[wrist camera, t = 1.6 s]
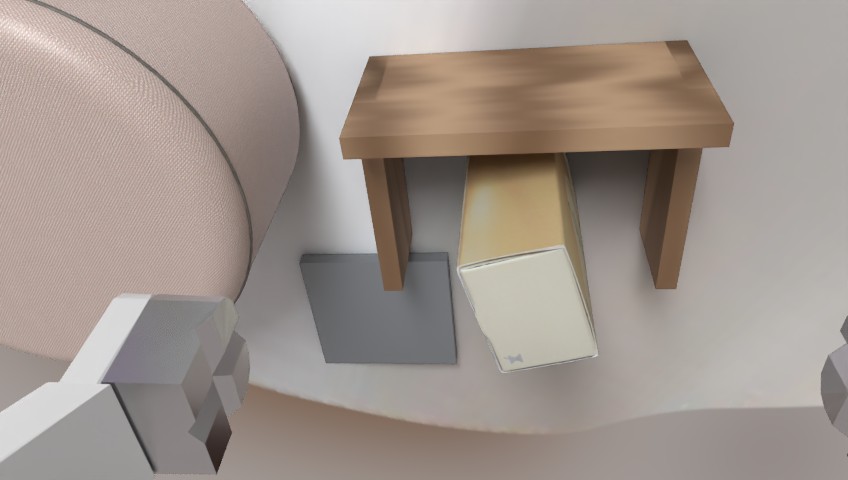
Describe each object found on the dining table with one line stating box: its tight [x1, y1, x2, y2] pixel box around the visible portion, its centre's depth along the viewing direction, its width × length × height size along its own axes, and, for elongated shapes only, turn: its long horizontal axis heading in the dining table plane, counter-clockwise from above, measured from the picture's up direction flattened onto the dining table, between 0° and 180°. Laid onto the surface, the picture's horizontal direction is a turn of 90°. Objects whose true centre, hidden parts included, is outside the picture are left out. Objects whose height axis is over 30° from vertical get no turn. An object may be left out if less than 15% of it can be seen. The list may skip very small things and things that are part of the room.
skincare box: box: [456, 152, 598, 373], centre depth 31 cm, size 6×4×12 cm
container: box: [0, 0, 300, 362], centre depth 31 cm, size 18×18×12 cm
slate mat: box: [299, 253, 457, 364], centre depth 43 cm, size 9×9×1 cm
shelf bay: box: [339, 40, 734, 291], centre depth 32 cm, size 15×11×8 cm
